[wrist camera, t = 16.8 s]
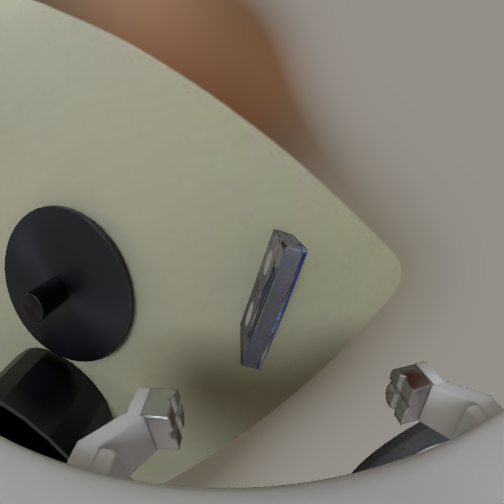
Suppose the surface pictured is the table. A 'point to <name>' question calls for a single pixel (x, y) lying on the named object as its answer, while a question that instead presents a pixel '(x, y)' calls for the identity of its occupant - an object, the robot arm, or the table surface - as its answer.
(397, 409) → the robot arm
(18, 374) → the waste tin
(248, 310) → the mini dv tape
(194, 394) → the table surface
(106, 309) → the tin lid
